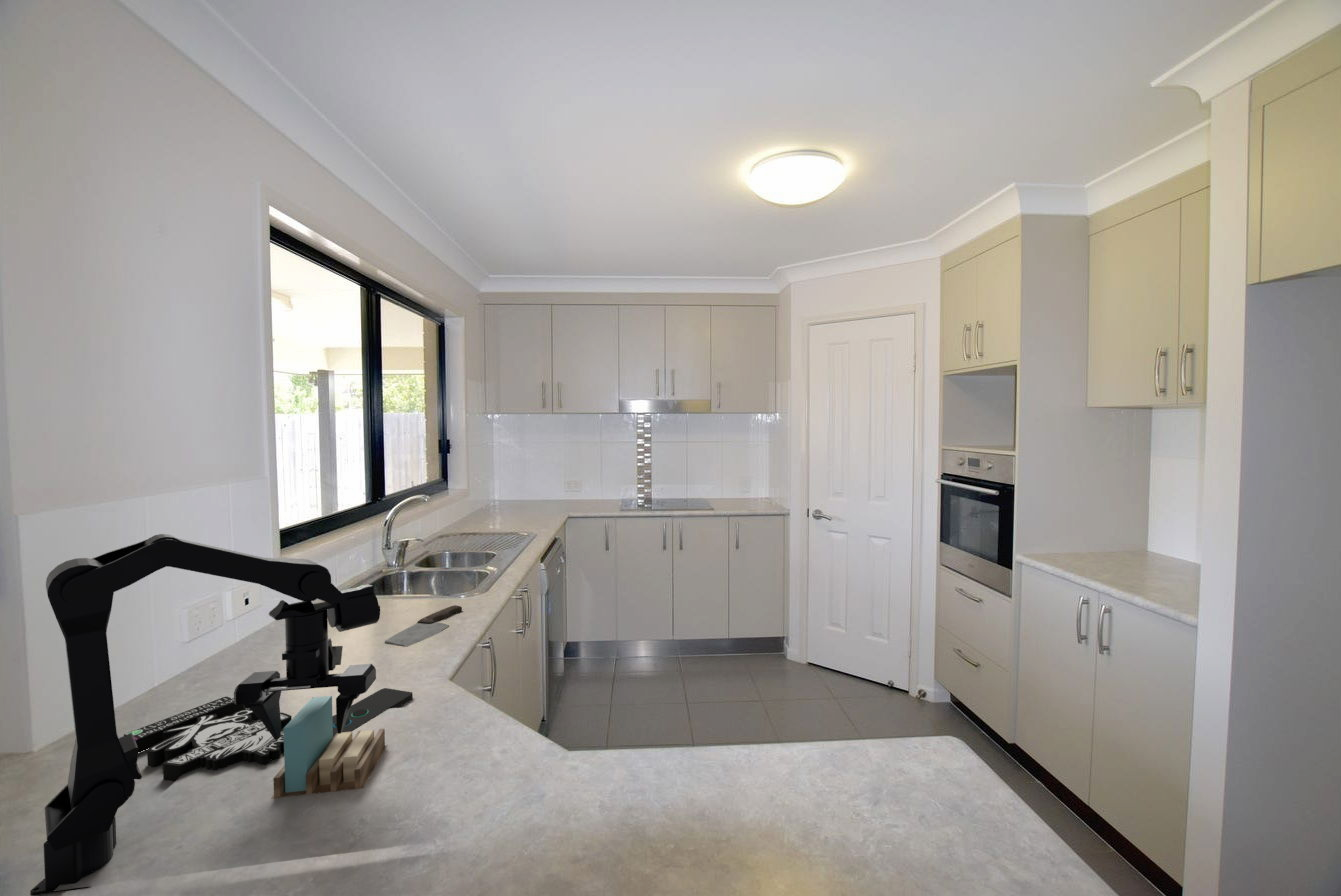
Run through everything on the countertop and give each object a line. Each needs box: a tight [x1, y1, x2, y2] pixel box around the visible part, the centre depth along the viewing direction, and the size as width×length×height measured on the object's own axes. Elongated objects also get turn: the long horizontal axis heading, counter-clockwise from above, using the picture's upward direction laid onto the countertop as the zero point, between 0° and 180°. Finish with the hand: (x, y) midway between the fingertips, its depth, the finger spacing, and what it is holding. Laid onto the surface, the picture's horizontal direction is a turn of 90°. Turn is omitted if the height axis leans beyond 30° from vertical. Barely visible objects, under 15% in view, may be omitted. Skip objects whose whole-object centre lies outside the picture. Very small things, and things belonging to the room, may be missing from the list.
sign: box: [123, 696, 293, 782], centre depth 100 cm, size 19×3×30 cm
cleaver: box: [384, 604, 463, 648], centre depth 161 cm, size 29×10×2 cm, turn 168°
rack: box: [271, 728, 388, 799], centre depth 92 cm, size 12×13×4 cm
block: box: [283, 695, 333, 793], centre depth 91 cm, size 10×3×10 cm, turn 11°
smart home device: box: [332, 687, 413, 738], centre depth 110 cm, size 8×2×20 cm
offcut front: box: [343, 729, 375, 782], centre depth 92 cm, size 8×2×4 cm, turn 11°
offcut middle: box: [319, 731, 353, 785], centre depth 92 cm, size 8×2×4 cm, turn 11°
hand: (309, 735), depth 91 cm, fingers open, 9 cm apart
